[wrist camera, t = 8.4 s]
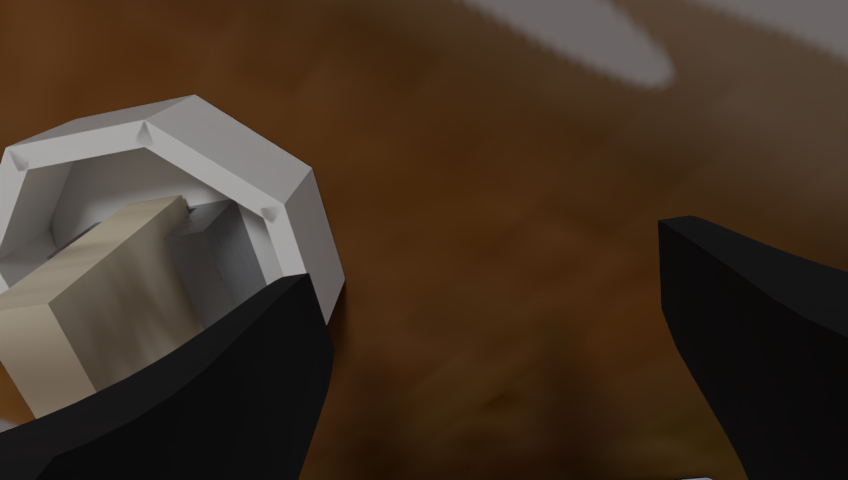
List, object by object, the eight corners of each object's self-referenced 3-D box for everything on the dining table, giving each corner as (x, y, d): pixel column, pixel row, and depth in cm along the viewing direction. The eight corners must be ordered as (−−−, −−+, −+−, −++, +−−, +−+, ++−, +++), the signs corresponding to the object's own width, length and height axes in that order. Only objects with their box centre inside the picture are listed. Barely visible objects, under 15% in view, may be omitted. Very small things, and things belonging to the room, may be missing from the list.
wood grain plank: (227, 309, 23) (128, 450, 17) (177, 316, 24) (60, 457, 17) (181, 194, 21) (47, 303, 15) (127, 204, 22) (-28, 314, 15)
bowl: (365, 347, 25) (349, 404, 22) (123, 378, 27) (75, 435, 24) (284, 76, 20) (248, 98, 17) (-4, 135, 22) (-86, 165, 19)
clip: (269, 290, 23) (243, 332, 21) (137, 309, 24) (97, 352, 22) (235, 198, 22) (203, 231, 19) (95, 222, 23) (46, 257, 20)
